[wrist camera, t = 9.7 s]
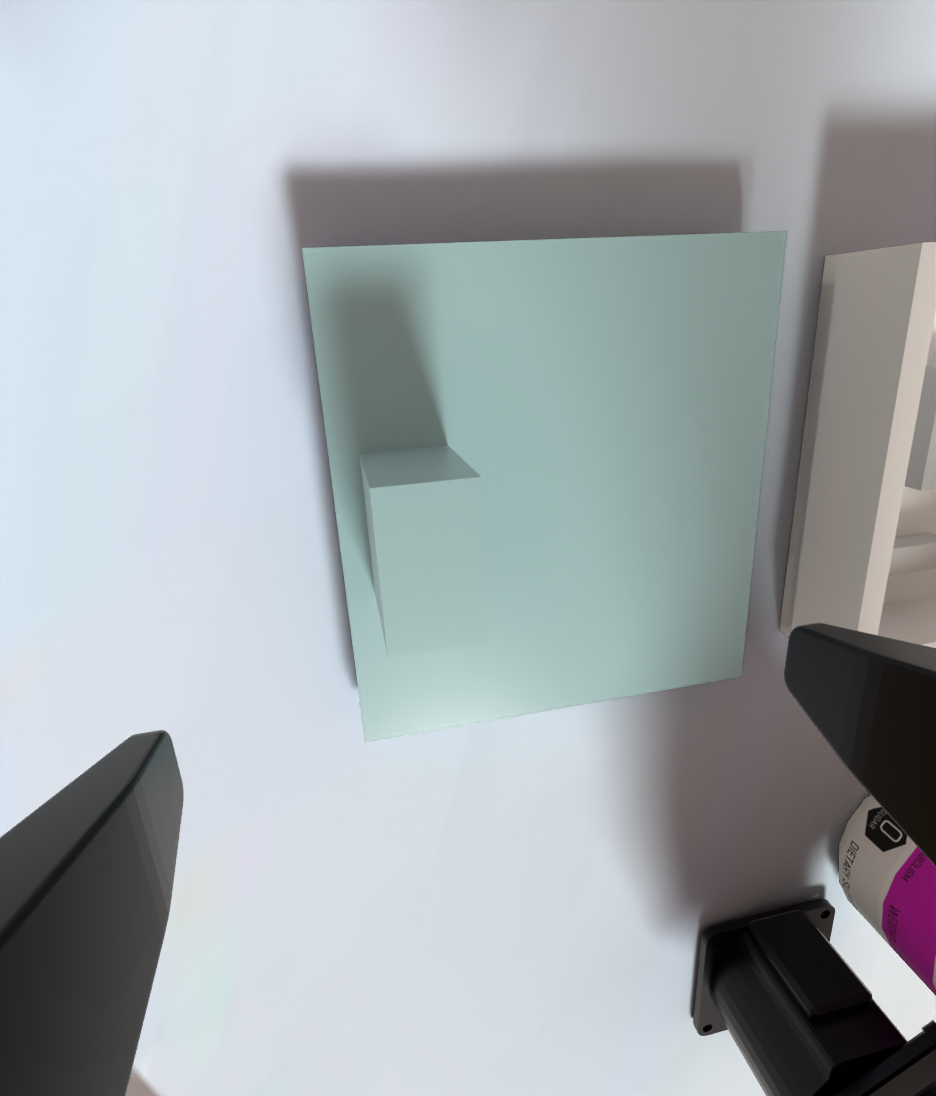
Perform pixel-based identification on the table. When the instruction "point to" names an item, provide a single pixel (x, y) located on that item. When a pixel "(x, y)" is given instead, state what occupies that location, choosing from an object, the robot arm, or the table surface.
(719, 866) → the table surface
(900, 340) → the white shallow square tray
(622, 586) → the lid
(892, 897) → the supplement can
